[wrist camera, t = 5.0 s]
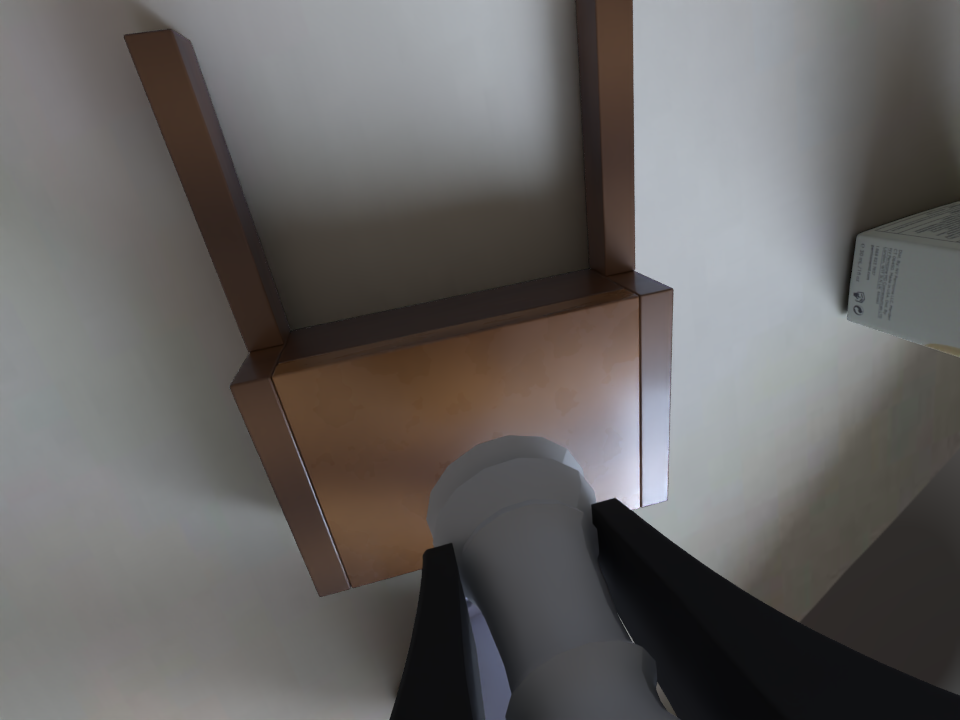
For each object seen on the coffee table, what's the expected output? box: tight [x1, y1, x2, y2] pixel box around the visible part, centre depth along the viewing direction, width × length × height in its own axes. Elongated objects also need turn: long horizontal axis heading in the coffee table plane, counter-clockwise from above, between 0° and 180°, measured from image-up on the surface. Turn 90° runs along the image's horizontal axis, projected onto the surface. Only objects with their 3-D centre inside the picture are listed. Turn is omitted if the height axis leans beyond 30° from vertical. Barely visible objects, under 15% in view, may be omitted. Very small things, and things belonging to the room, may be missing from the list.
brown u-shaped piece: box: [124, 0, 673, 597], centre depth 16 cm, size 18×14×4 cm
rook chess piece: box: [426, 435, 681, 720], centre depth 10 cm, size 4×4×8 cm
